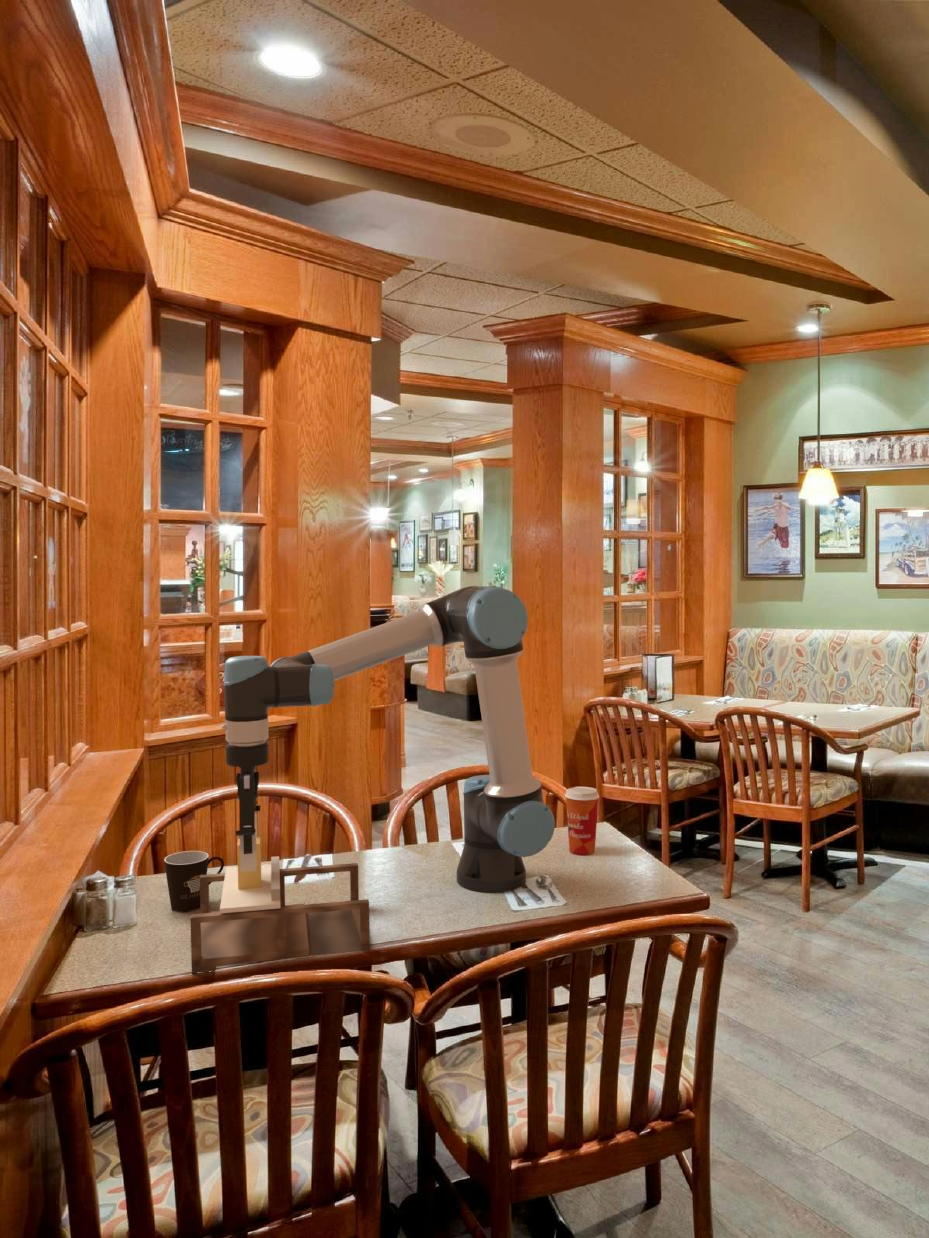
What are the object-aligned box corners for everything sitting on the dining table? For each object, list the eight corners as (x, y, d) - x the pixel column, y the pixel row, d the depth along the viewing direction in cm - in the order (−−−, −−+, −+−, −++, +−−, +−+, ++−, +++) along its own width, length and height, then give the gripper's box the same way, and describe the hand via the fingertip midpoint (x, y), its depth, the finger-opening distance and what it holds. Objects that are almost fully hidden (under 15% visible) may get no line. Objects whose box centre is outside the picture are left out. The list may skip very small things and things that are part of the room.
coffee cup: (557, 851, 213) (557, 789, 212) (579, 844, 218) (579, 784, 218) (584, 859, 207) (584, 796, 206) (606, 851, 212) (607, 790, 211)
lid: (279, 867, 173) (279, 853, 173) (280, 908, 152) (280, 892, 152) (226, 871, 171) (225, 857, 170) (219, 913, 150) (219, 897, 150)
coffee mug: (164, 916, 174) (163, 866, 174) (166, 900, 183) (165, 853, 182) (225, 909, 178) (224, 860, 177) (224, 894, 186) (223, 847, 185)
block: (261, 879, 163) (260, 837, 163) (261, 887, 160) (260, 843, 159) (238, 881, 163) (238, 838, 162) (238, 889, 159) (237, 845, 158)
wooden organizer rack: (358, 910, 177) (357, 862, 176) (369, 956, 156) (369, 902, 155) (201, 924, 170) (200, 874, 170) (191, 974, 149) (190, 917, 149)
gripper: (228, 730, 171) (231, 839, 172) (221, 756, 147) (224, 883, 148) (268, 729, 173) (270, 837, 174) (268, 754, 148) (270, 879, 150)
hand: (249, 858), depth 161 cm, fingers open, 13 cm apart
